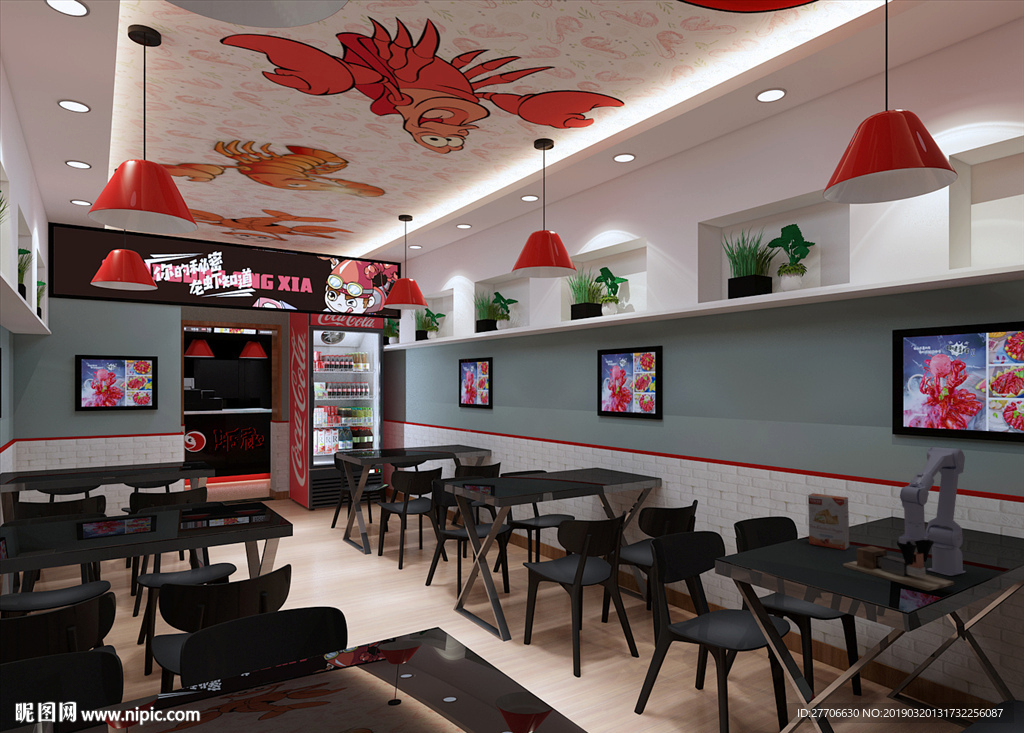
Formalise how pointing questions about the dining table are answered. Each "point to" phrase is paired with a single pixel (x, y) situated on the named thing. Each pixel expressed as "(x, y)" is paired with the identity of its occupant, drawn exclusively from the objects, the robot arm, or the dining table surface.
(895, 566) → the sleeve
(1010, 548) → the dining table surface
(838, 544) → the cracker box
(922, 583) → the board
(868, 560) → the socket block
